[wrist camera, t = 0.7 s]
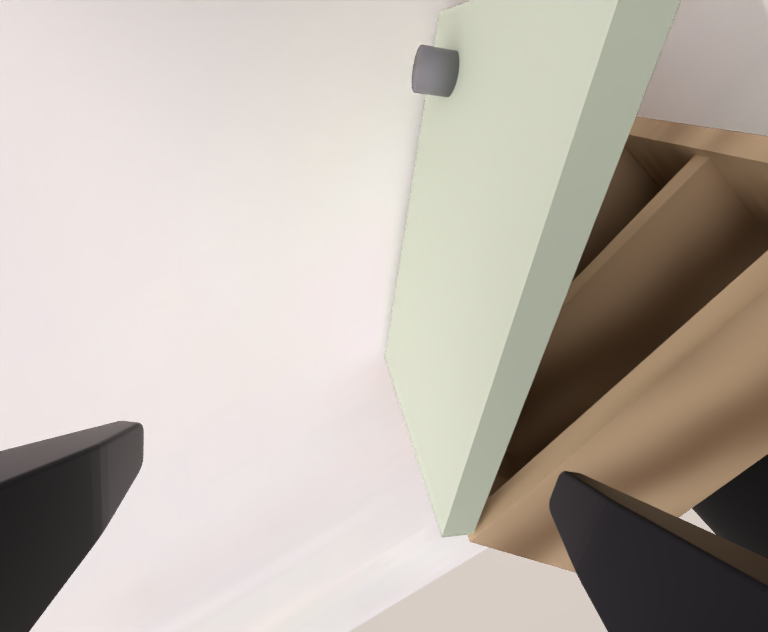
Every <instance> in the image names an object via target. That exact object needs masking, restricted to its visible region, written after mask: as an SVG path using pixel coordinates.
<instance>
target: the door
mask: <svg viewBox="0 0 768 632" xmlns="http://www.w3.org/2000/svg"><path fill="white" fill-rule="evenodd" d="M680 2H681V0H470V1H468V2H465V3H462V4H459V5H457V6H454V7H451V8H448V9H445V10H443V11H440V12H439V14H438V21H437V27H436V33H435V40H434V46H433V47H432V46H426V45H420V46H419V48H418V50H417V53H416V56H415V60H414V65H413V72H412V89H413V92H414V93H420V94H426V97H425V103H424V110H423V116H422V122H421V129H420V135H419V141H418V148H417V154H416V160H415V167H414V173H413V179H412V186H411V192H410V198H409V205H408V211H407V218H406V224H405V230H404V237H403V243H402V249H401V256H400V262H399V268H398V275H397V281H396V287H395V294H394V300H393V306H392V313H391V319H390V325H389V332H388V338H387V344H386V351H385V357H384V358H385V361H386V364H387V368H388V371H389V374H390V377H391V380H392V383H393V386H394V390H395V393H396V396H397V399H398V402H399V405H400V408H401V411H402V415H403V418H404V421H405V424H406V427H407V430H408V433H409V437H410V440H411V443H412V446H413V449H414V452H415V455H416V459H417V462H418V465H419V468H420V471H421V474H422V477H423V480H424V484H425V487H426V490H427V493H428V496H429V499H430V502H431V506H432V509H433V512H434V515H435V518H436V521H437V524H438V528H439V531H440V534H441V537H450V536H459V535H468V534H473V533H474V531H475V528H476V526H477V523H478V521H479V518H480V515H481V513H482V510H483V508H484V505H485V503H486V500H487V497H488V495H489V492H490V490H491V487H492V485H493V482H494V480H495V477H496V474H497V472H498V469H499V467H500V464H501V462H502V459H503V456H504V454H505V451H506V449H507V446H508V444H509V441H510V438H511V436H512V433H513V431H514V428H515V426H516V423H517V420H518V418H519V415H520V413H521V410H522V408H523V405H524V402H525V400H526V397H527V395H528V392H529V390H530V387H531V384H532V382H533V379H534V377H535V374H536V372H537V369H538V367H539V364H540V361H541V359H542V356H543V354H544V351H545V349H546V346H547V343H548V341H549V338H550V336H551V333H552V331H553V328H554V325H555V323H556V320H557V318H558V315H559V313H560V310H561V307H562V305H563V302H564V300H565V297H566V295H567V292H568V289H569V287H570V284H571V282H572V279H573V277H574V274H575V271H576V269H577V266H578V264H579V261H580V259H581V256H582V254H583V251H584V248H585V246H586V243H587V241H588V238H589V236H590V233H591V230H592V228H593V225H594V223H595V220H596V218H597V215H598V212H599V210H600V207H601V205H602V202H603V200H604V197H605V194H606V192H607V189H608V187H609V184H610V182H611V179H612V176H613V174H614V171H615V169H616V166H617V164H618V161H619V159H620V156H621V153H622V151H623V148H624V146H625V143H626V141H627V138H628V135H629V133H630V130H631V128H632V125H633V123H634V120H635V117H636V115H637V112H638V110H639V107H640V105H641V102H642V99H643V97H644V94H645V92H646V89H647V87H648V84H649V81H650V79H651V76H652V74H653V71H654V69H655V66H656V63H657V61H658V58H659V56H660V53H661V51H662V48H663V46H664V43H665V40H666V38H667V35H668V33H669V30H670V28H671V25H672V22H673V20H674V17H675V15H676V12H677V10H678V7H679V4H680Z"/></svg>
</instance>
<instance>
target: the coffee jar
mask: <svg viewBox="0 0 768 632" xmlns="http://www.w3.org/2000/svg"><path fill="white" fill-rule="evenodd" d="M693 510H694V511H695V512H696V513H697V514H698V515H699V516H700V517H701V519H702V520H703V521H704V522H705V523H706V524H707V525H708V526H709V527H710V528H711V529H712V530H713V532H714V533H715V534H716V535H717V536H719V537H721V538H724V539H726V540H728V541H730V542H732V543H735V544H737V545H739V546H741V547H743V548H746V549H748V550H750V551H752V552H754V553H757V554H759V555H761V556H763V557H765V558H767V559H768V454H767V455H766V456H764V457H763V458H761V459H760V460H759V461H757V462H756V463H754V464H753V465H752V466H750V467H749V468H747V469H746V470H745V471H743V472H742V473H740V474H739V475H738V476H736V477H735V478H733V479H732V480H731V481H729V482H728V483H726V484H725V485H724V486H722V487H721V488H719V489H718V490H717V491H715V492H714V493H712V494H711V495H710V496H708V497H707V498H705V499H704V500H703V501H701V502H700V503H698V504H697V505H696V506H694V507H693Z"/></svg>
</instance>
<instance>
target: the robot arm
mask: <svg viewBox="0 0 768 632" xmlns="http://www.w3.org/2000/svg"><path fill="white" fill-rule="evenodd" d="M143 436H144V431H143V426H142V424H140V423H137V422H129V421H118V422H114V423H110V424H106V425H102V426H98V427H94V428H90V429H86V430H82V431H78V432H74V433H70V434H66V435H62V436H58V437H54V438H50V439H47V440H43V441H39V442H35V443H31V444H27V445H23V446H19V447H15V448H11V449H7V450H3V451H0V632H29V631H30V630H31V628H32V627H33V626H34V624H35V623H36V622H37V620H38V619H39V618H40V616H41V615H42V614H43V612H44V611H45V610H46V608H47V607H48V606H49V604H50V603H51V602H52V600H53V599H54V598H55V596H56V595H57V594H58V592H59V591H60V590H61V588H62V587H63V586H64V584H65V583H66V582H67V580H68V579H69V578H70V576H71V575H72V574H73V572H74V571H75V570H76V568H77V567H78V566H79V564H80V563H81V562H82V560H83V559H84V558H85V556H86V555H87V554H88V552H89V551H90V550H91V548H92V547H93V546H94V544H95V543H96V542H97V540H98V539H99V537H100V536H101V535H102V533H103V532H104V530H105V528H106V527H107V525H108V524H109V522H110V520H111V519H112V517H113V515H114V514H115V512H116V510H117V508H118V507H119V505H120V503H121V502H122V500H123V498H124V497H125V495H126V493H127V492H128V490H129V488H130V486H131V485H132V483H133V481H134V480H135V478H136V476H137V475H138V473H139V471H140V469H141V466H142V463H143ZM549 509H550V513H551V516H552V518H553V521H554V523H555V525H556V528H557V530H558V532H559V535H560V537H561V539H562V542H563V544H564V546H565V549H566V551H567V553H568V556H569V558H570V560H571V563H572V565H573V567H574V569H575V571H576V573H577V575H578V577H579V579H580V581H581V583H582V585H583V587H584V589H585V590H586V592H587V594H588V596H589V598H590V599H591V601H592V603H593V605H594V607H595V609H596V611H597V612H598V614H599V616H600V618H601V620H602V622H603V623H604V625H605V627H606V629H607V631H608V632H768V559H767V558H765V557H763V556H761V555H759V554H757V553H754V552H752V551H750V550H748V549H746V548H743V547H741V546H739V545H737V544H735V543H732V542H730V541H728V540H726V539H724V538H721V537H719V536H717V535H715V534H713V533H710V532H708V531H706V530H704V529H702V528H699V527H697V526H695V525H693V524H691V523H689V522H686V521H684V520H682V519H680V518H678V517H675V516H673V515H671V514H669V513H667V512H664V511H662V510H660V509H658V508H656V507H654V506H651V505H649V504H647V503H645V502H643V501H640V500H638V499H636V498H634V497H632V496H629V495H627V494H625V493H623V492H621V491H618V490H616V489H614V488H612V487H610V486H607V485H605V484H603V483H601V482H599V481H597V480H594V479H592V478H590V477H588V476H586V475H583V474H581V473H578V472H569V471H563V472H561V473H560V474H559V476H558V479H557V481H556V484H555V487H554V489H553V492H552V494H551V497H550V500H549Z"/></svg>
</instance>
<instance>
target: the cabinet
mask: <svg viewBox="0 0 768 632" xmlns="http://www.w3.org/2000/svg"><path fill="white" fill-rule="evenodd" d="M767 454H768V136H762V135H755V134H749V133H742V132H735V131H729V130H722V129H715V128H708V127H702V126H695V125H688V124H682V123H675V122H668V121H661V120H655V119H648V118H641V117H635V120H634V123H633V125H632V128H631V130H630V133H629V135H628V138H627V141H626V143H625V146H624V148H623V151H622V153H621V156H620V159H619V161H618V164H617V166H616V169H615V171H614V174H613V176H612V179H611V182H610V184H609V187H608V189H607V192H606V194H605V197H604V200H603V202H602V205H601V207H600V210H599V212H598V215H597V218H596V220H595V223H594V225H593V228H592V230H591V233H590V236H589V238H588V241H587V243H586V246H585V248H584V251H583V254H582V256H581V259H580V261H579V264H578V266H577V269H576V271H575V274H574V277H573V279H572V282H571V284H570V287H569V289H568V292H567V295H566V297H565V300H564V302H563V305H562V307H561V310H560V313H559V315H558V318H557V320H556V323H555V325H554V328H553V331H552V333H551V336H550V338H549V341H548V343H547V346H546V349H545V351H544V354H543V356H542V359H541V361H540V364H539V367H538V369H537V372H536V374H535V377H534V379H533V382H532V384H531V387H530V390H529V392H528V395H527V397H526V400H525V402H524V405H523V408H522V410H521V413H520V415H519V418H518V420H517V423H516V426H515V428H514V431H513V433H512V436H511V438H510V441H509V444H508V446H507V449H506V451H505V454H504V456H503V459H502V462H501V464H500V467H499V469H498V472H497V474H496V477H495V480H494V482H493V485H492V487H491V490H490V492H489V495H488V497H487V500H486V503H485V505H484V508H483V510H482V513H481V515H480V518H479V521H478V523H477V526H476V528H475V531H474V533H473V534H468V537H469V540H470V542H473V543H476V544H480V545H483V546H487V547H490V548H494V549H497V550H500V551H504V552H507V553H511V554H514V555H517V556H521V557H524V558H528V559H531V560H535V561H538V562H541V563H545V564H549V565H552V566H555V567H559V568H562V569H565V570H569V571H572V572H576V571H575V569H574V567H573V565H572V563H571V560H570V558H569V556H568V553H567V551H566V549H565V546H564V544H563V542H562V539H561V537H560V535H559V532H558V530H557V528H556V525H555V523H554V521H553V518H552V516H551V513H550V509H549V500H550V497H551V494H552V492H553V489H554V487H555V484H556V481H557V479H558V476H559V474H560V473H561V472H563V471H569V472H578V473H581V474H583V475H586V476H588V477H590V478H592V479H594V480H597V481H599V482H601V483H603V484H605V485H607V486H610V487H612V488H614V489H616V490H618V491H621V492H623V493H625V494H627V495H629V496H632V497H634V498H636V499H638V500H640V501H643V502H645V503H647V504H649V505H651V506H654V507H656V508H658V509H660V510H662V511H664V512H667V513H669V514H671V515H673V516H675V517H678V518H679V517H680V516H681V515H683V514H684V513H686V512H687V511H689V510H690V509H691V508H693V507H694V506H696V505H697V504H698V503H700V502H701V501H703V500H704V499H705V498H707V497H708V496H710V495H711V494H712V493H714V492H715V491H717V490H718V489H719V488H721V487H722V486H724V485H725V484H726V483H728V482H729V481H731V480H732V479H733V478H735V477H736V476H738V475H739V474H740V473H742V472H743V471H745V470H746V469H747V468H749V467H750V466H752V465H753V464H754V463H756V462H757V461H759V460H760V459H761V458H763V457H764V456H766V455H767Z"/></svg>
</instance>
